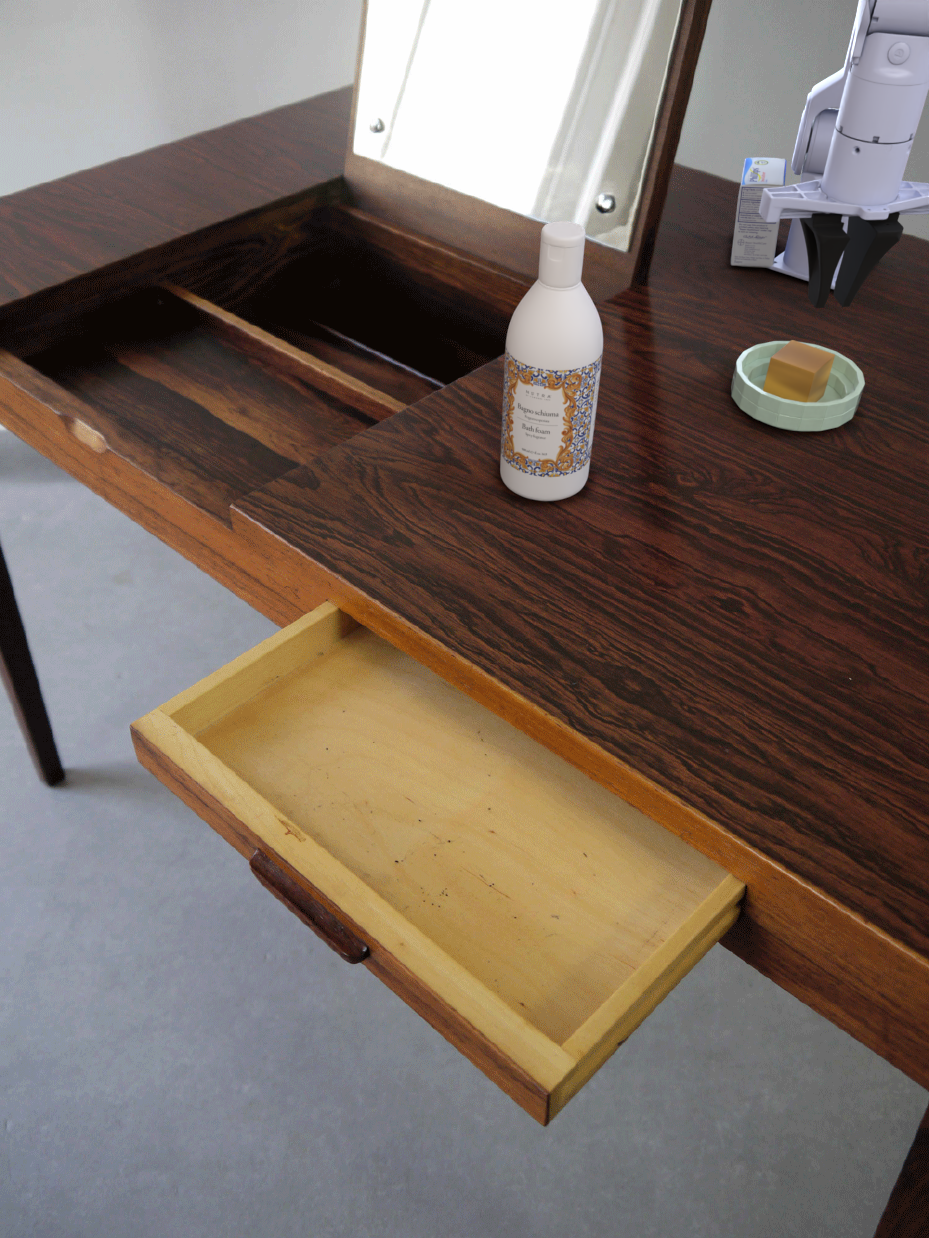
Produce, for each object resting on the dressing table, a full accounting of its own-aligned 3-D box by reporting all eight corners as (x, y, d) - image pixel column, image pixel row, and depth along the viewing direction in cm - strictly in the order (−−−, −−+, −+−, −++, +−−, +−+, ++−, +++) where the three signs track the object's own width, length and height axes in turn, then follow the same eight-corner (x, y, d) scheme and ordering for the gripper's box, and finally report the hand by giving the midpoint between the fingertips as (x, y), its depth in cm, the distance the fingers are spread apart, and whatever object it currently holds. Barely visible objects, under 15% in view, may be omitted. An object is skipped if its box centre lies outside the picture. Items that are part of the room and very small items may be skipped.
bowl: (764, 358, 97) (771, 328, 95) (875, 398, 92) (885, 368, 90) (707, 405, 91) (713, 375, 89) (822, 451, 86) (832, 420, 84)
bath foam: (486, 492, 82) (495, 241, 68) (516, 445, 86) (530, 201, 73) (572, 513, 80) (599, 259, 66) (598, 464, 85) (628, 218, 71)
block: (781, 380, 93) (792, 339, 91) (823, 395, 92) (835, 354, 89) (760, 398, 91) (770, 357, 88) (803, 415, 89) (814, 373, 87)
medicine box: (772, 270, 110) (786, 185, 104) (729, 267, 111) (740, 183, 105) (775, 239, 116) (788, 157, 110) (733, 236, 117) (744, 155, 111)
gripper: (797, 152, 74) (758, 328, 84) (993, 148, 76) (932, 321, 85) (766, 118, 80) (732, 288, 89) (950, 114, 81) (897, 282, 90)
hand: (828, 302), depth 87 cm, fingers closed
